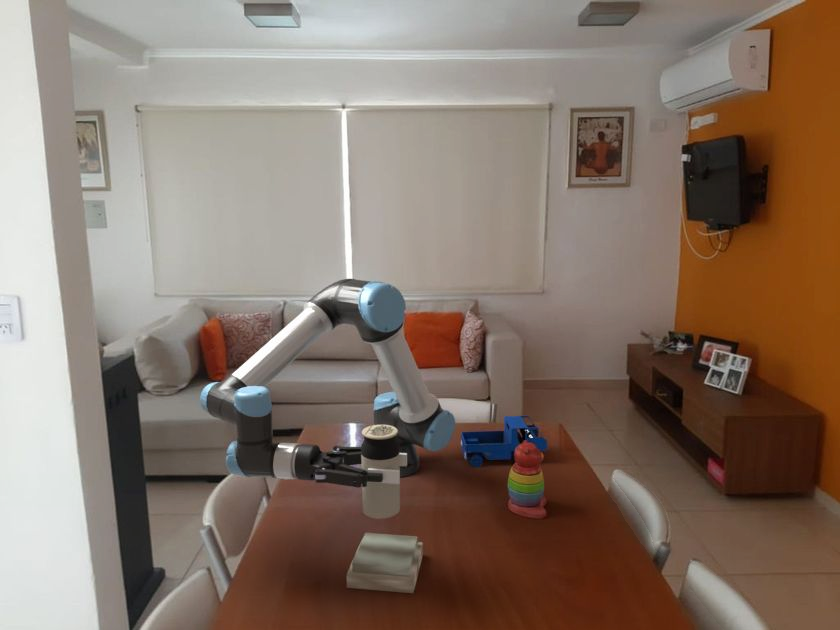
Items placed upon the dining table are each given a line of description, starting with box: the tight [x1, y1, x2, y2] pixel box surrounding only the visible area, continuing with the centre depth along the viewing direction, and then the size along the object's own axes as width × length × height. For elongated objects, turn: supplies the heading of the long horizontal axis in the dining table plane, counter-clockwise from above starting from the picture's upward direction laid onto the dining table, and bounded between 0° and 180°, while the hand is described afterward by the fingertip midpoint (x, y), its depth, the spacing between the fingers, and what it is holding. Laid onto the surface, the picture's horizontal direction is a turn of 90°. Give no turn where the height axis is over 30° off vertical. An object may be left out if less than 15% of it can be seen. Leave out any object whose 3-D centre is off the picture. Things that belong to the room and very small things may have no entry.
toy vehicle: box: [460, 415, 548, 468], centre depth 188 cm, size 25×12×12 cm, turn 93°
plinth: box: [345, 532, 424, 594], centre depth 131 cm, size 14×14×5 cm
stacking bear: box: [507, 440, 547, 520], centre depth 156 cm, size 11×10×18 cm
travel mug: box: [360, 424, 401, 520], centre depth 127 cm, size 8×8×18 cm
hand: (403, 468), depth 126 cm, fingers closed on travel mug, 8 cm apart
